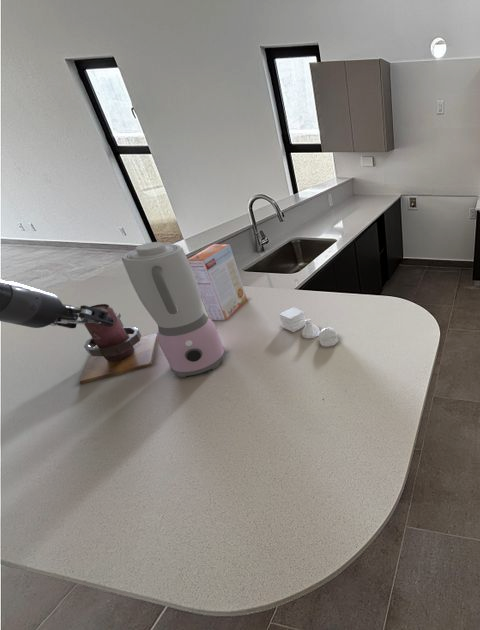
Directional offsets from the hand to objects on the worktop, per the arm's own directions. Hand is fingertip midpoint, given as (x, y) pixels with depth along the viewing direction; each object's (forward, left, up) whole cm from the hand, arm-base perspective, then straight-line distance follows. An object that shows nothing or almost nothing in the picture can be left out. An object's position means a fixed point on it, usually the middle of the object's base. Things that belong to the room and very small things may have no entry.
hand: (93, 323), depth 80 cm
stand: (+1, +2, -13) cm, 13 cm away
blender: (+19, -12, -13) cm, 26 cm away
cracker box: (+27, +17, -13) cm, 34 cm away
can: (+1, +2, -11) cm, 12 cm away
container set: (+47, -11, -13) cm, 50 cm away
